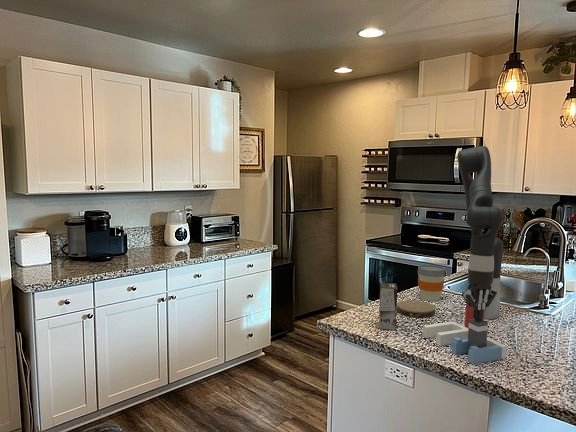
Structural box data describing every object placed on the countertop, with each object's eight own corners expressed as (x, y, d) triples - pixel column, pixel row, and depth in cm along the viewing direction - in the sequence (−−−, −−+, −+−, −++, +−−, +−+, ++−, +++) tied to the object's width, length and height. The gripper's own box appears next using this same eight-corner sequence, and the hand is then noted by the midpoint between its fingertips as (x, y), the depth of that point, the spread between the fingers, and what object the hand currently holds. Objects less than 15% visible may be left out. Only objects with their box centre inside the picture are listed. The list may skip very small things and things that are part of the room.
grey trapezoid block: (476, 352, 144) (478, 317, 142) (486, 357, 140) (488, 321, 138) (466, 354, 142) (468, 319, 141) (476, 359, 138) (478, 323, 137)
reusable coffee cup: (440, 304, 196) (441, 272, 194) (413, 299, 202) (414, 268, 201) (446, 297, 206) (448, 267, 204) (420, 293, 213) (421, 263, 211)
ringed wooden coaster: (400, 304, 195) (400, 298, 195) (436, 309, 188) (436, 303, 188) (393, 315, 181) (393, 308, 180) (432, 321, 174) (433, 314, 174)
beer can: (482, 329, 165) (484, 299, 164) (484, 335, 159) (485, 304, 157) (463, 327, 167) (465, 297, 166) (464, 333, 161) (466, 302, 159)
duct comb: (452, 331, 162) (453, 318, 162) (506, 358, 139) (507, 343, 139) (422, 336, 157) (423, 323, 157) (472, 364, 134) (473, 349, 134)
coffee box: (396, 330, 163) (397, 289, 161) (379, 329, 164) (380, 288, 162) (395, 322, 172) (396, 283, 170) (378, 320, 173) (380, 282, 171)
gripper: (487, 264, 144) (484, 314, 145) (456, 267, 139) (453, 318, 141) (506, 269, 137) (502, 321, 138) (473, 272, 132) (470, 326, 134)
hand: (477, 319), depth 140 cm, fingers closed
